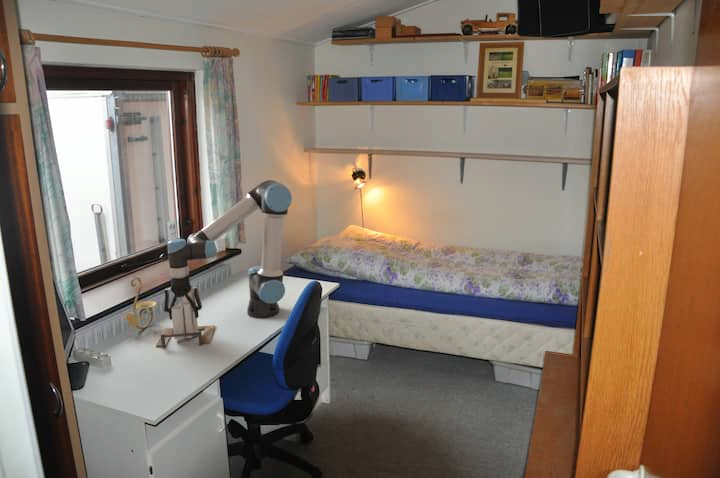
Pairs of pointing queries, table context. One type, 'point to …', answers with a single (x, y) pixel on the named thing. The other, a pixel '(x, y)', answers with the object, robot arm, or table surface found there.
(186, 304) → the candle
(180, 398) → the table surface
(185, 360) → the table surface
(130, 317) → the wall sconce
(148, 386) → the table surface
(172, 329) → the brown wooden stand
